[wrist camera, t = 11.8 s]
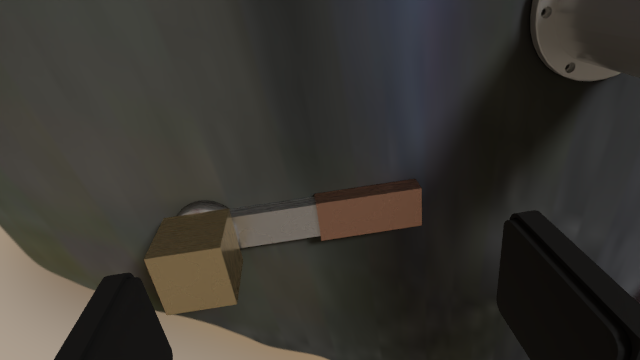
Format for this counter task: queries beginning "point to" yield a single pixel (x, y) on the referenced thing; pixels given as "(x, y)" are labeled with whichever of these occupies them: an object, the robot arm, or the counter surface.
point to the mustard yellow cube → (196, 262)
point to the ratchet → (325, 214)
